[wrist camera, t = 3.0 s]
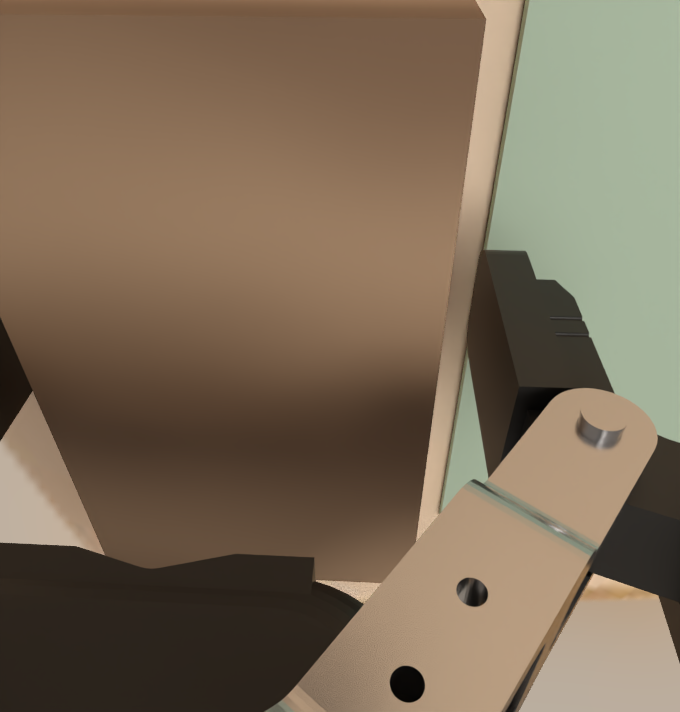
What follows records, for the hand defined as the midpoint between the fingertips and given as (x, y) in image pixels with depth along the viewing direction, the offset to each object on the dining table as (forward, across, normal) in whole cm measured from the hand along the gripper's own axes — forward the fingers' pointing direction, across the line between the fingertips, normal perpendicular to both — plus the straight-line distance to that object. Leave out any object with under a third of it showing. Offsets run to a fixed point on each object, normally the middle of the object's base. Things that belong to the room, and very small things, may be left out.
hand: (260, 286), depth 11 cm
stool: (+5, 0, 0) cm, 5 cm away
